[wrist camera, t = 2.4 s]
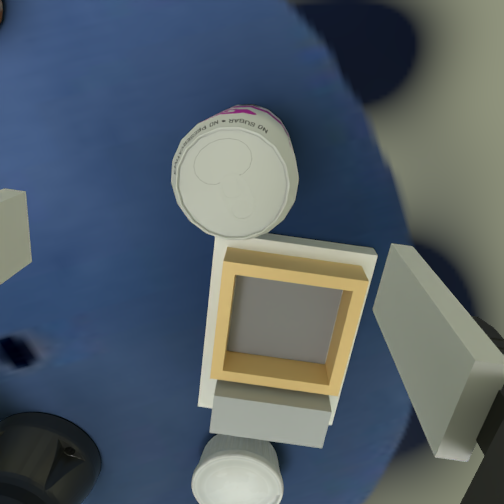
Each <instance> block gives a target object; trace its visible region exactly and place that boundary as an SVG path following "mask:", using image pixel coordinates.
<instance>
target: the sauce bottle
mask: <svg viewBox="0 0 504 504" xmlns="http://www.w3.org/2000/svg"><path fill="white" fill-rule="evenodd" d="M2 14H3V8H2V0H0V23H1V21H2Z"/></svg>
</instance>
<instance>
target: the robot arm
mask: <svg viewBox="0 0 504 504" xmlns="http://www.w3.org/2000/svg"><path fill="white" fill-rule="evenodd" d="M31 262H32V258H31V246H30V235H29V223H28V212H27V201H26V192H25V191H18V190H11V189H2V190H0V285H1V284H2V283H3V282H5V281H6V280H7V279H9V278H10V277H11V276H13V275H14V274H16V273H17V272H18V271H20V270H21V269H22V268H24V267H25V266H27V265H28V264H29V263H31ZM373 312H374V315H375V317H376V320H377V322H378V324H379V327H380V329H381V331H382V334H383V336H384V338H385V341H386V343H387V346H388V348H389V350H390V353H391V355H392V357H393V360H394V362H395V364H396V367H397V369H398V372H399V374H400V376H401V379H402V381H403V383H404V386H405V388H406V390H407V393H408V395H409V398H410V400H411V402H412V405H413V407H414V409H415V412H416V414H417V416H418V419H419V421H420V423H421V426H422V428H423V431H424V433H425V435H426V438H427V440H428V442H429V445H430V447H431V449H432V452H433V454H434V456H435V457H437V458H444V459H451V460H458V461H465V462H468V460H469V458H470V456H471V454H472V451H473V449H474V447H475V445H476V443H478V444H479V446H480V448H481V450H482V452H483V453H484V455H485V456H484V458H483V460H482V462H481V464H480V466H479V468H478V470H477V472H476V474H475V476H474V478H473V480H472V482H471V484H470V486H469V488H468V490H467V492H466V494H465V496H464V497H463V499H462V501H461V503H460V504H504V339H503V338H502V337H501V335H500V334H499V333H498V332H497V331H496V330H495V329H494V328H493V327H492V326H490V325H489V324H487V323H486V322H485V321H483V320H482V319H480V318H479V317H474V316H470V315H469V313H468V312H467V311H466V310H465V308H464V307H463V306H462V305H461V304H460V303H459V301H458V300H457V299H456V298H455V297H454V295H453V294H452V293H451V292H450V290H449V289H448V288H447V287H446V286H445V284H444V283H443V282H442V281H441V280H440V279H439V277H438V276H437V275H436V274H435V273H434V271H433V270H432V269H431V268H430V267H429V265H428V264H427V263H426V262H425V261H424V259H423V258H422V257H421V256H420V255H419V253H418V252H417V251H416V250H415V249H414V247H413V246H406V245H399V244H392V243H391V246H390V250H389V253H388V257H387V260H386V264H385V267H384V271H383V274H382V278H381V282H380V285H379V289H378V292H377V296H376V299H375V303H374V306H373ZM100 469H101V459H100V455H99V452H98V450H97V448H96V446H95V444H94V443H93V441H92V440H91V439H90V438H89V437H88V436H87V435H86V434H85V433H84V432H83V431H82V430H81V429H79V428H78V427H77V426H75V425H73V424H72V423H70V422H68V421H66V420H64V419H61V418H59V417H56V416H53V415H49V414H43V413H20V414H16V415H13V416H10V417H8V418H6V419H4V420H3V421H1V422H0V504H81V503H82V501H83V500H84V499H85V498H86V497H87V496H88V495H89V493H90V492H91V490H92V488H93V486H94V484H95V482H96V480H97V477H98V475H99V473H100Z"/></svg>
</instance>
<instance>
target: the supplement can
mask: <svg viewBox="0 0 504 504" xmlns="http://www.w3.org/2000/svg"><path fill="white" fill-rule="evenodd" d="M298 182H299V176H298V170H297V164H296V159H295V154H294V151H293V147H292V144H291V140H290V137H289V133H288V132H287V130H286V128H285V127H284V125H283V123H282V121H281V120H280V119H279V118H278V117H277V116H275V115H274V114H273V113H272V112H271V111H269V110H268V109H265V108H262V107H259V106H257V105H254V104H247V105H236V106H233V107H231V108H229V109H226V110H224V111H222V112H220V113H218V114H216V115H214V116H212V117H210V118H208V119H206V120H204V121H202V122H200V123H198V124H197V125H196V126H195V127H194V128H193V129H192V130H191V131H190V132H189V133H188V134H187V135H186V136H185V137H184V138H183V139H182V140H181V142H180V145H179V147H178V149H177V151H176V154H175V156H174V158H173V160H172V176H171V184H172V187H173V191H174V194H175V197H176V201H177V204H178V205H179V207H180V208H181V209H182V211H183V212H184V214H185V215H186V217H187V218H188V219H189V221H190V222H192V223H193V224H194V225H196V226H197V227H198V228H200V229H201V230H203V231H204V232H205V233H207V234H209V235H213V236H216V237H219V238H222V239H225V240H249V239H252V238H255V237H257V236H260V235H263V234H266V233H268V232H269V231H270V230H272V229H273V228H274V227H275V226H277V225H278V224H279V223H280V222H281V221H283V220H284V219H285V217H286V215H287V214H288V212H289V210H290V208H291V207H292V205H293V203H294V202H295V198H296V193H297V187H298Z"/></svg>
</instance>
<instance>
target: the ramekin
mask: <svg viewBox="0 0 504 504" xmlns="http://www.w3.org/2000/svg"><path fill="white" fill-rule="evenodd" d="M192 491H193V494H194V496H195V498H196V500H197V501H198V502H199V504H279V503H280V501H281V499H282V496H283V480H282V476H281V474H280V469H279V464H278V458H277V454H276V452H275V449H274V448H273V446H272V445H271V444H270V442H269V441H266V440H259V439H252V438H245V437H237V436H230V435H223V434H217V435H216V436H214V437H213V438H212V439H211V440H210V441H209V442H208V443H207V445H206V446H205V448H204V451H203V453H202V456H201V458H200V461H199V464H198V465H197V467H196V468H195V470H194V473H193V477H192Z"/></svg>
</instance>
